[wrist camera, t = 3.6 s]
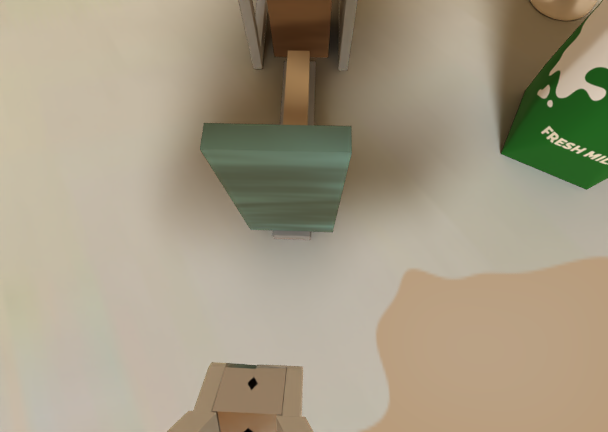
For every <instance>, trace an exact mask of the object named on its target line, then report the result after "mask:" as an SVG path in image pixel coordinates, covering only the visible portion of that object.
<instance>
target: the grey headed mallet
mask: <svg viewBox="0 0 608 432" xmlns="http://www.w3.org/2000/svg"><path fill="white" fill-rule="evenodd" d="M357 1H358V0H339V70H348V63H349V56H350V49H351V42H352V35H353V29H354V22H355V15H356V8H357ZM239 5H240V9H241V14H242V18H243V23H244V28H245V32H246V37H247V41H248V46H249V50H250V55H251V59H252V64H253V68H254V69H262V66H263V56H264V45H265V34H266V23H267V12H268V5H267V0H257V3H256V13H255V12H254V6H253V1H252V0H239ZM286 69H287V61H284V72H283V87H282V102H281V117H280V125H283V116H284V100H285V85H286ZM315 73H316V61H310V75H309V102H308V125H314V106H315ZM310 237H311V231H280V230H273V238H274V239H302V240H310Z"/></svg>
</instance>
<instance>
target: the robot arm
mask: <svg viewBox="0 0 608 432" xmlns="http://www.w3.org/2000/svg"><path fill="white" fill-rule="evenodd" d="M302 389H303V367H300V366H285V365H245V364H232V363H215V362H212V363H211V364H210V366H209V368H208V370H207V373H206V376H205V379H204V382H203V385H202V387H201V390H200V393H199V396H198V399H197V402H196V405H195V407H194V410H193V411H188V412H187V413H186V414H185V415H184V416H183V417H182V418H181V419H180V420H179V421H178V422H176V423H175V424H174V425H173V426H172V427H171V428H170V429H169V430H168V431H167V432H313V430H312V428H311V426H310V425H309V423H308V421H307V419H306V417H302Z"/></svg>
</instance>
